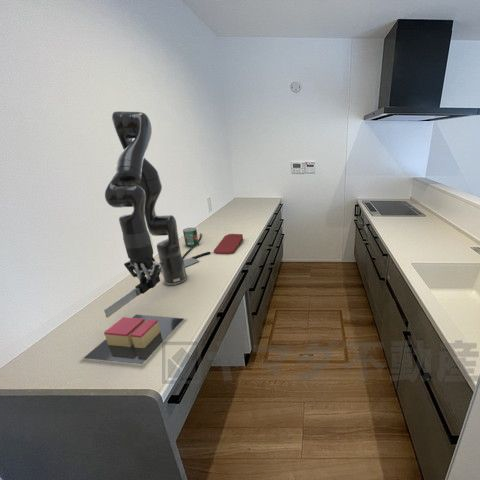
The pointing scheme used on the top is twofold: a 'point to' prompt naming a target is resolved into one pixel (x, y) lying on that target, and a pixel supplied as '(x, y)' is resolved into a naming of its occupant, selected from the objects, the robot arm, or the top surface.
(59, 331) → the top surface
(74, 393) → the top surface
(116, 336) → the cake
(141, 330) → the cake slice
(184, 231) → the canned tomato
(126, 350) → the slate board
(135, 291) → the knife
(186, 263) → the cleaver
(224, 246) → the red slab
